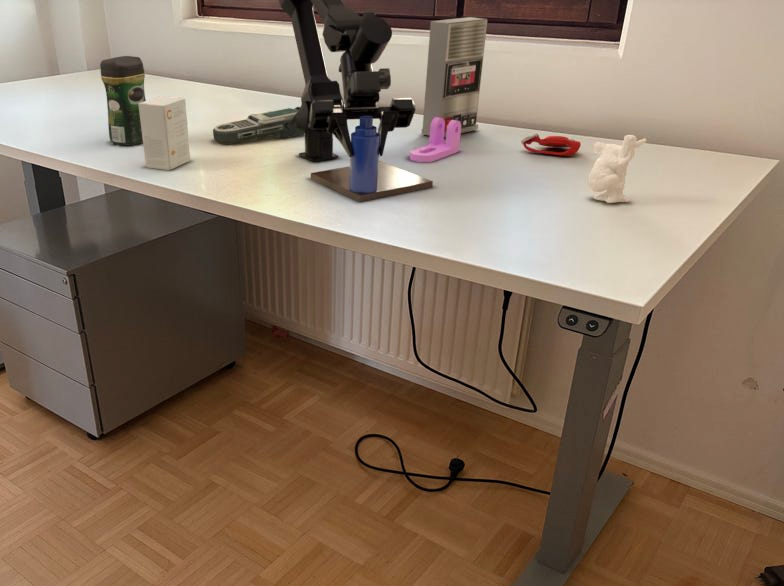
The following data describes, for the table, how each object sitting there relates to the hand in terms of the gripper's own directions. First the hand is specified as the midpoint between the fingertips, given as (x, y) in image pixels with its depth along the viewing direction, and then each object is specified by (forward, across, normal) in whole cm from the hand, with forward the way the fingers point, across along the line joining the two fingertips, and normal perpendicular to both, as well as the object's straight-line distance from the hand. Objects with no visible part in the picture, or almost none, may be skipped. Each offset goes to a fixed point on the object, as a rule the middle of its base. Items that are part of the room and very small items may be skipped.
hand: (366, 155), depth 133 cm
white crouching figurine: (+10, +44, +1) cm, 45 cm away
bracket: (-14, +20, +25) cm, 35 cm away
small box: (-14, -37, +25) cm, 47 cm away
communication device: (-29, -16, +40) cm, 53 cm away
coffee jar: (-28, -47, +40) cm, 68 cm away
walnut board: (-1, +3, +12) cm, 12 cm away
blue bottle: (+4, 0, +6) cm, 7 cm away
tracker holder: (-14, +46, +25) cm, 55 cm away
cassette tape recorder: (-28, +30, +39) cm, 56 cm away
